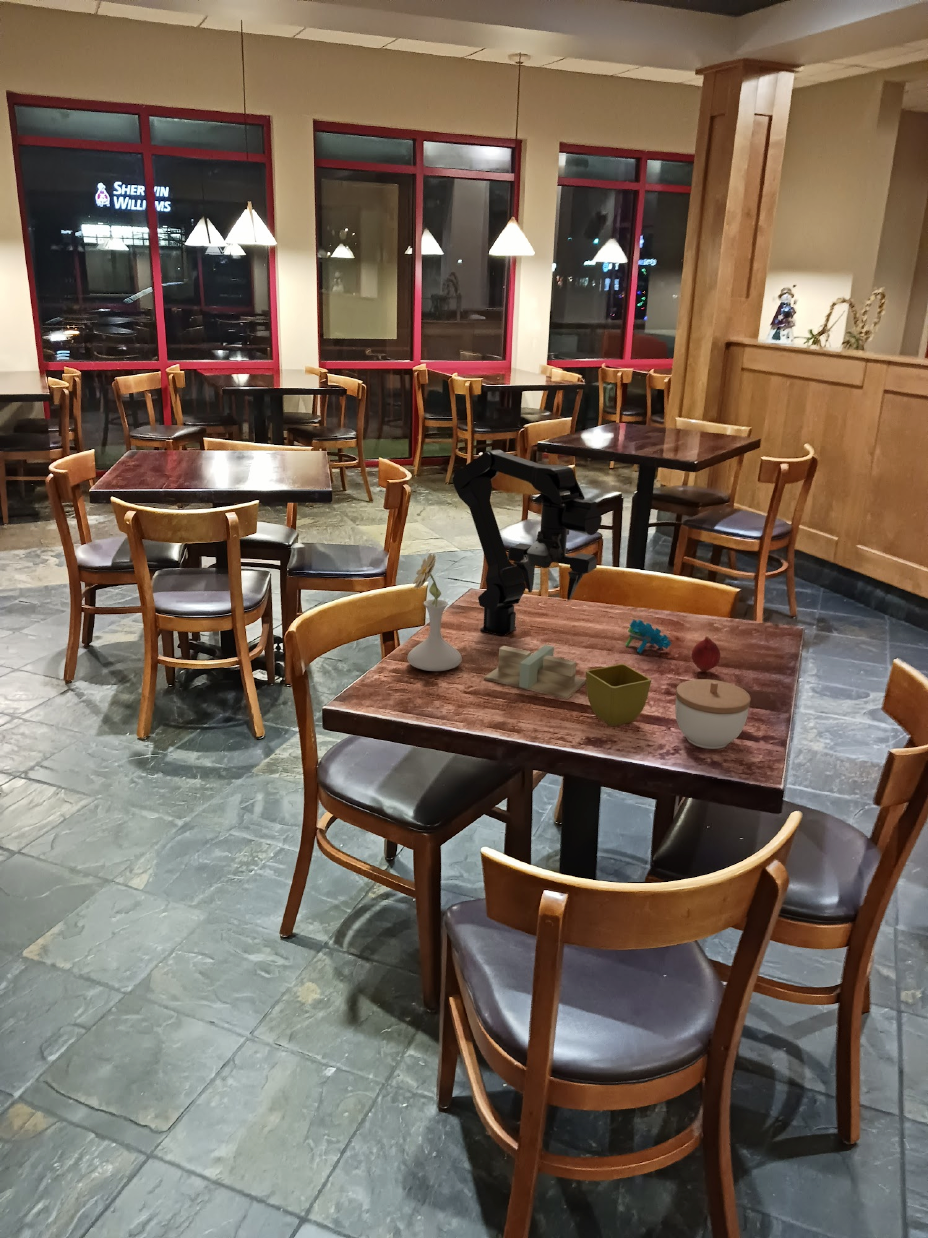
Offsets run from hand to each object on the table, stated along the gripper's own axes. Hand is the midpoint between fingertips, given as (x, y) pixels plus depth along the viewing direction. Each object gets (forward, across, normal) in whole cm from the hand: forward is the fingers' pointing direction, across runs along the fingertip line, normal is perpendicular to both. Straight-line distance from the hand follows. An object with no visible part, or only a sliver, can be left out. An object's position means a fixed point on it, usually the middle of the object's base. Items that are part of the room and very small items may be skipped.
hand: (549, 595), depth 200 cm
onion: (+12, +34, +5) cm, 36 cm away
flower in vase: (+12, -15, -24) cm, 31 cm away
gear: (+12, +20, +11) cm, 26 cm away
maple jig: (+12, +6, -19) cm, 23 cm away
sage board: (+11, +6, -19) cm, 23 cm away
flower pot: (+12, +26, -28) cm, 40 cm away
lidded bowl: (+12, +43, -27) cm, 52 cm away
